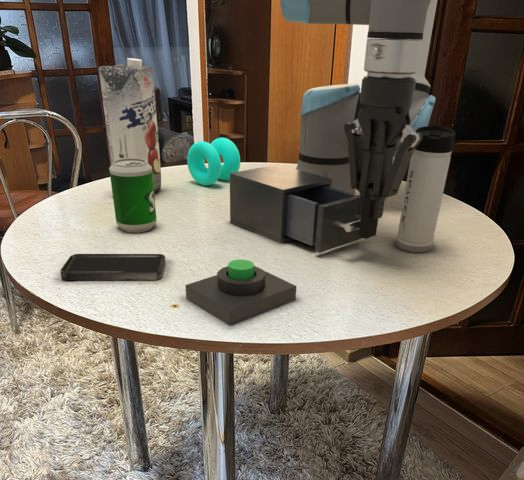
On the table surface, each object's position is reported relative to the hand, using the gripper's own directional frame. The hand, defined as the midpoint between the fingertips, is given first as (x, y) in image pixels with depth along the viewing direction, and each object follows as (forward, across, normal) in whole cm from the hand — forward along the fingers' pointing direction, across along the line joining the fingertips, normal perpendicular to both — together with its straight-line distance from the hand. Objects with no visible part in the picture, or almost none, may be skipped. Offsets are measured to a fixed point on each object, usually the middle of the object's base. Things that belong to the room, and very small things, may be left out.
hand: (367, 235), depth 85 cm
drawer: (+3, -10, 0) cm, 10 cm away
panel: (+4, -1, -26) cm, 27 cm away
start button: (0, -1, -26) cm, 26 cm away
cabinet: (+4, -21, 0) cm, 22 cm away
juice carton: (+4, -57, -10) cm, 58 cm away
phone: (+4, -22, -35) cm, 41 cm away
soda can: (+4, -37, -22) cm, 44 cm away
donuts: (+4, -55, +10) cm, 56 cm away
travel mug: (+4, +2, +12) cm, 13 cm away
